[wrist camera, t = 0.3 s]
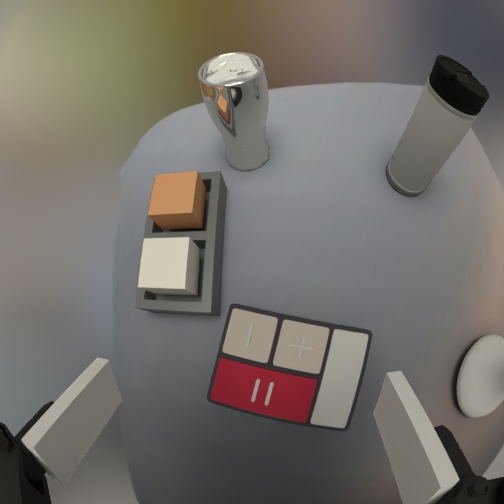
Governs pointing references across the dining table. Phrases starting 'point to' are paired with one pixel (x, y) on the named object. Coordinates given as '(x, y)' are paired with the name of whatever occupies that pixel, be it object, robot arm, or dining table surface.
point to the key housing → (210, 256)
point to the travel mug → (436, 125)
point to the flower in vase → (482, 377)
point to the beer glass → (238, 106)
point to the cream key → (170, 266)
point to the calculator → (289, 368)
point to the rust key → (178, 200)
